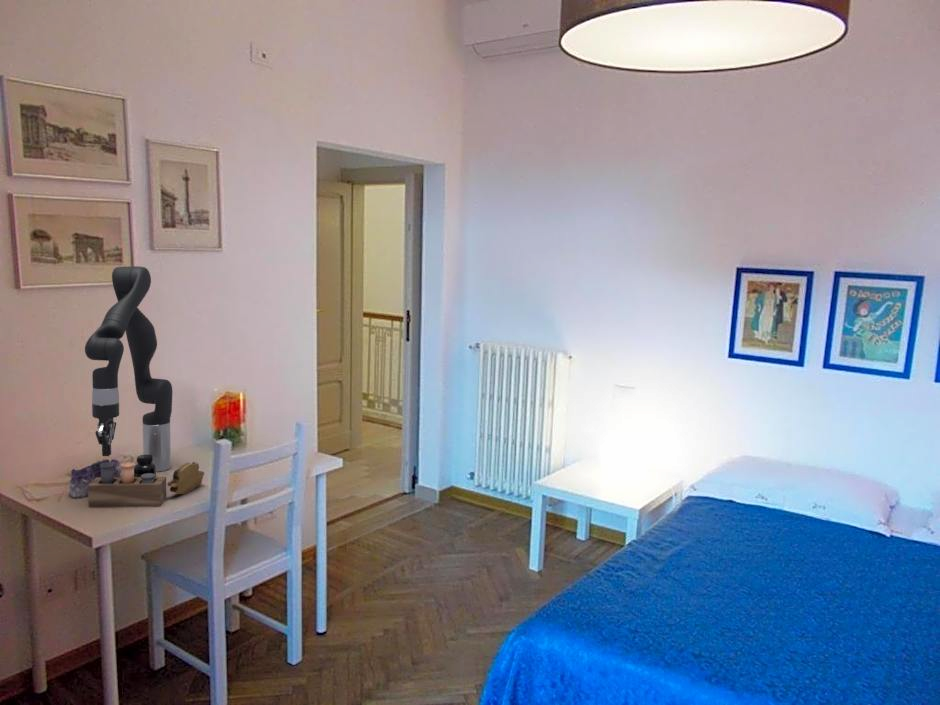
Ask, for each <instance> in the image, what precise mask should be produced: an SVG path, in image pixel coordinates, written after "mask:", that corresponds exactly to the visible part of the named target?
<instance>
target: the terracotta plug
mask: <svg viewBox="0 0 940 705" xmlns="http://www.w3.org/2000/svg"><path fill="white" fill-rule="evenodd" d="M135 465H136V463H135V462H133V461H132V462H131V461H127V462H126V461H125V462H121V463H120V464H119V468H120V470H121V471H122V484H126V483H134V466H135Z"/></svg>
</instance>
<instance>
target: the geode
mask: <svg viewBox="0 0 940 705" xmlns="http://www.w3.org/2000/svg"><path fill="white" fill-rule="evenodd" d="M109 460H110V459H104V460H97V461H95V462H94V463H92V464H90V465H86V466H85V467H83V468H81V469H79V470H78V469H77V470H76V469H75V468H73V469H72V470H71V471H70V475H71V479H70V480H69V487H68V493H67V494H68V497H70V499H73V500H77V499H83V498H88V485H89V484H90V483H91V482H92V481H93V480H94V479H95V478H96V477H101V467H100V464H101V463H106V462H113V463H115V466H114V477H122V471H121V467H120V464H121V463H120V462H119V460H118V459H114V458H113V459H111V460H110V461H109Z"/></svg>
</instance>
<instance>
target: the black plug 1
mask: <svg viewBox="0 0 940 705" xmlns="http://www.w3.org/2000/svg"><path fill="white" fill-rule="evenodd" d="M114 466H115V463H113V462H111V461H109V462H106V463H101V464H100V467H101V484H113V483H114Z"/></svg>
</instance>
